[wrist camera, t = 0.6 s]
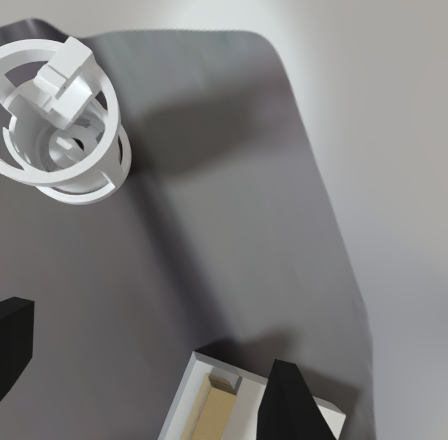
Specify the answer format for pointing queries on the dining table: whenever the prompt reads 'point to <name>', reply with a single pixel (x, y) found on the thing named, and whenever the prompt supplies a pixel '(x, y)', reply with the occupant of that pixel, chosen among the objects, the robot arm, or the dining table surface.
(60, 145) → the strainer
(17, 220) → the dining table surface
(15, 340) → the robot arm
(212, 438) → the bar
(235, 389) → the white panel
